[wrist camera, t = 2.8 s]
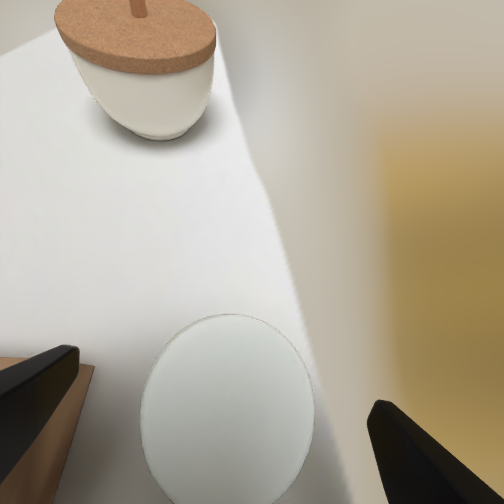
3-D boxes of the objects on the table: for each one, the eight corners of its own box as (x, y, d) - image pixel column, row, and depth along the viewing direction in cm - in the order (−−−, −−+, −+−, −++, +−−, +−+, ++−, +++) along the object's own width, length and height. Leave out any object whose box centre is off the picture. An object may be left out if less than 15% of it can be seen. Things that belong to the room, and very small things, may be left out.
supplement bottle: (246, 328, 16) (288, 265, 7) (281, 421, 14) (393, 478, 5) (160, 361, 14) (90, 327, 6) (184, 472, 12) (127, 669, 4)
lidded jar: (123, 79, 26) (85, -58, 18) (222, 101, 27) (228, -21, 19) (78, 144, 21) (-5, -8, 13) (202, 168, 22) (198, 39, 14)
